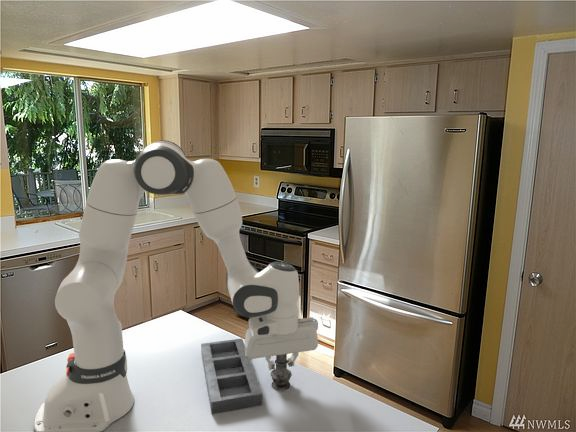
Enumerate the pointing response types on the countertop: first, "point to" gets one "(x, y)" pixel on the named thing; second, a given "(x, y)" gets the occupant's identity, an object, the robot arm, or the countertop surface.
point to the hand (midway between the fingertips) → (281, 366)
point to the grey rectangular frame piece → (229, 376)
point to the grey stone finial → (281, 374)
